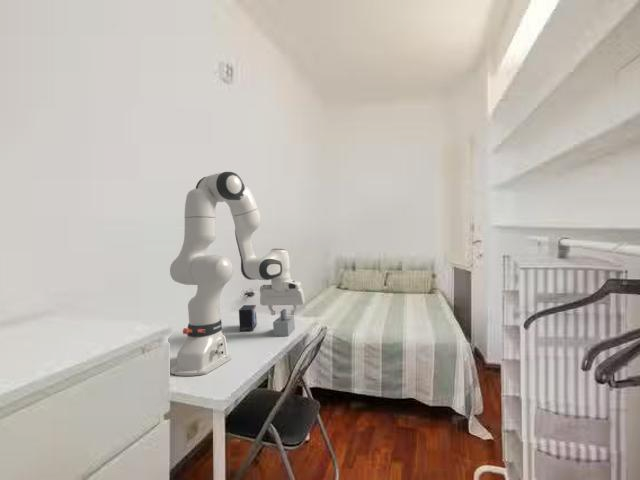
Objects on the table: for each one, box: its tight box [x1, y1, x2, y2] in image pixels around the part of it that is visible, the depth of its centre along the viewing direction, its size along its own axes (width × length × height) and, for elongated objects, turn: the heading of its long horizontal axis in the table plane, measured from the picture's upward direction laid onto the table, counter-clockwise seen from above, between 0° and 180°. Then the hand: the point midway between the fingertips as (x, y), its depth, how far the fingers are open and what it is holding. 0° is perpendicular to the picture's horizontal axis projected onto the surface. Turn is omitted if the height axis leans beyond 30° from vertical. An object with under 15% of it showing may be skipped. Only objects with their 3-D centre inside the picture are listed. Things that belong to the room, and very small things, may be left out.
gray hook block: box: [272, 308, 296, 337], centre depth 166 cm, size 11×7×10 cm, turn 169°
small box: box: [238, 304, 258, 332], centre depth 176 cm, size 11×6×10 cm, turn 179°
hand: (283, 314), depth 165 cm, fingers open, 8 cm apart
